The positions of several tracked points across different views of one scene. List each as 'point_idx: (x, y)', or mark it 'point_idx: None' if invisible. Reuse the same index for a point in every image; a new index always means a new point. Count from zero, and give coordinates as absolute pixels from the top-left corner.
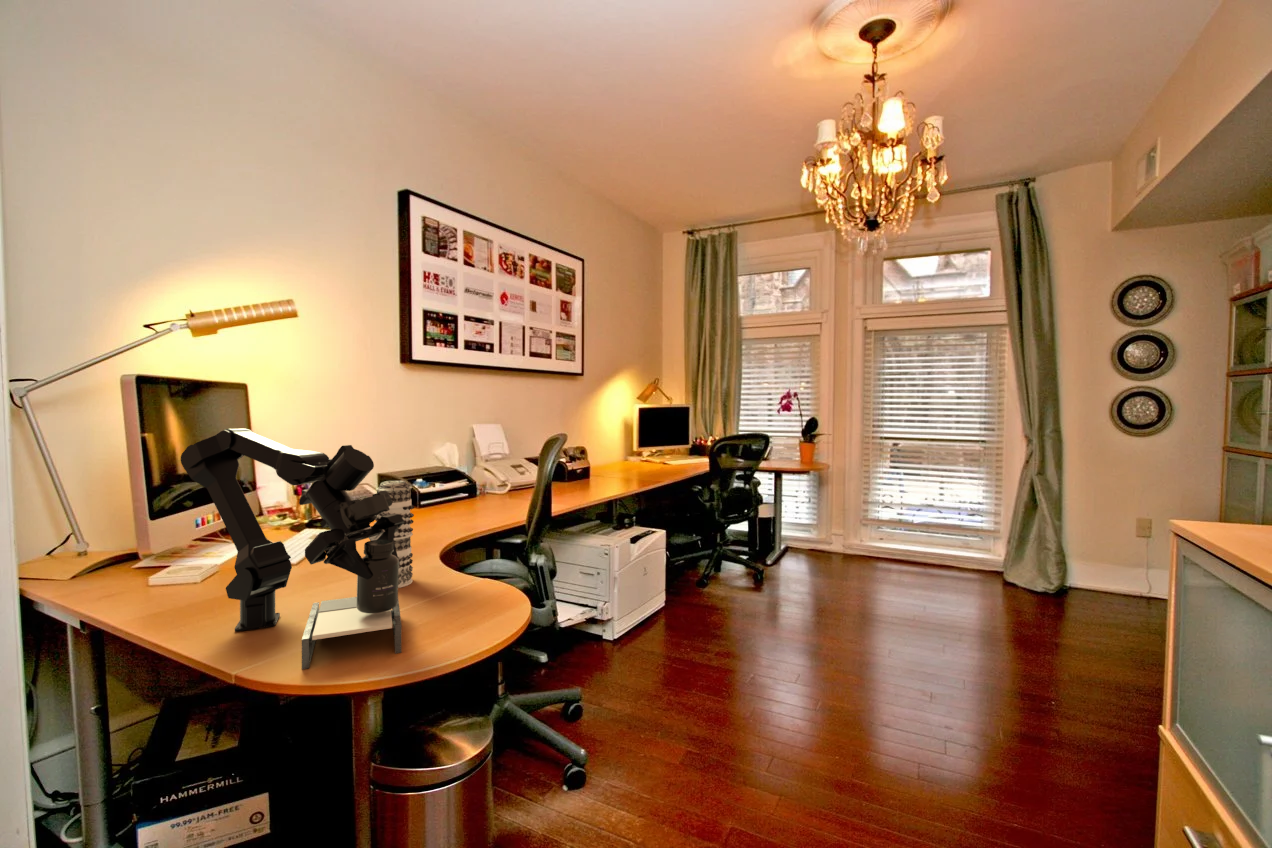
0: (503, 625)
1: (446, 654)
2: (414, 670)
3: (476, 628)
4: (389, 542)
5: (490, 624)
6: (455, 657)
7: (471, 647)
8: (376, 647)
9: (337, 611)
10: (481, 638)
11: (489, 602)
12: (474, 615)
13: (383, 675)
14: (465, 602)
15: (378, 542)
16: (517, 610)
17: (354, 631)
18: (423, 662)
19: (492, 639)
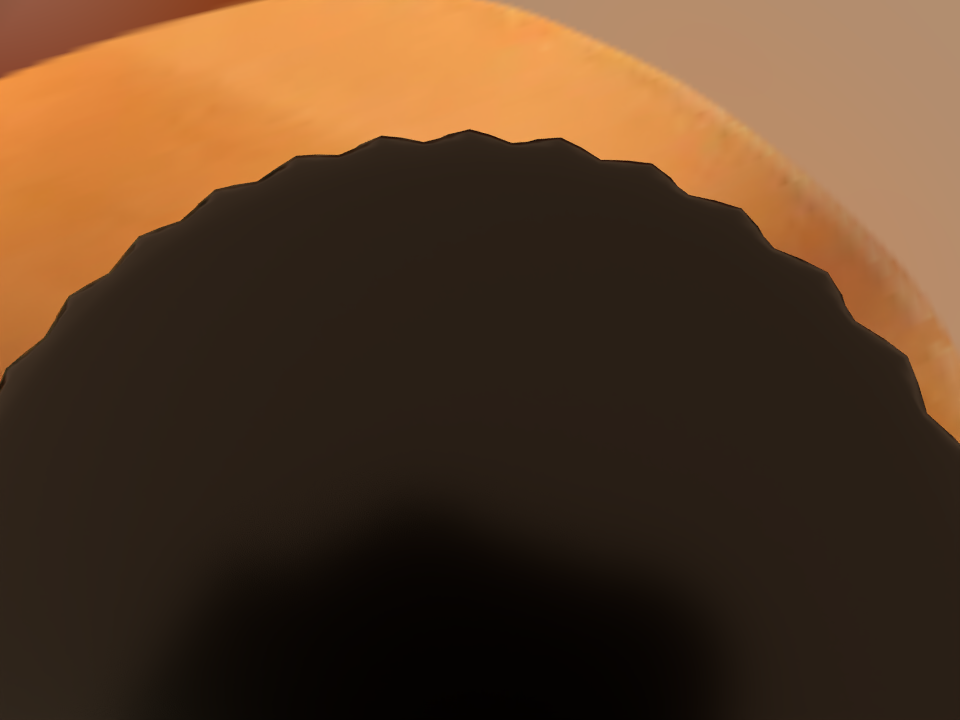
0: (339, 37)
1: (665, 165)
2: (852, 240)
3: (368, 137)
4: (377, 221)
5: (323, 93)
6: (693, 117)
7: (583, 88)
8: None
9: None
10: (483, 80)
11: (39, 184)
12: (203, 199)
13: (931, 363)
14: (14, 303)
15: (412, 643)
16: (166, 33)
17: None
18: (762, 233)
19: (494, 33)
